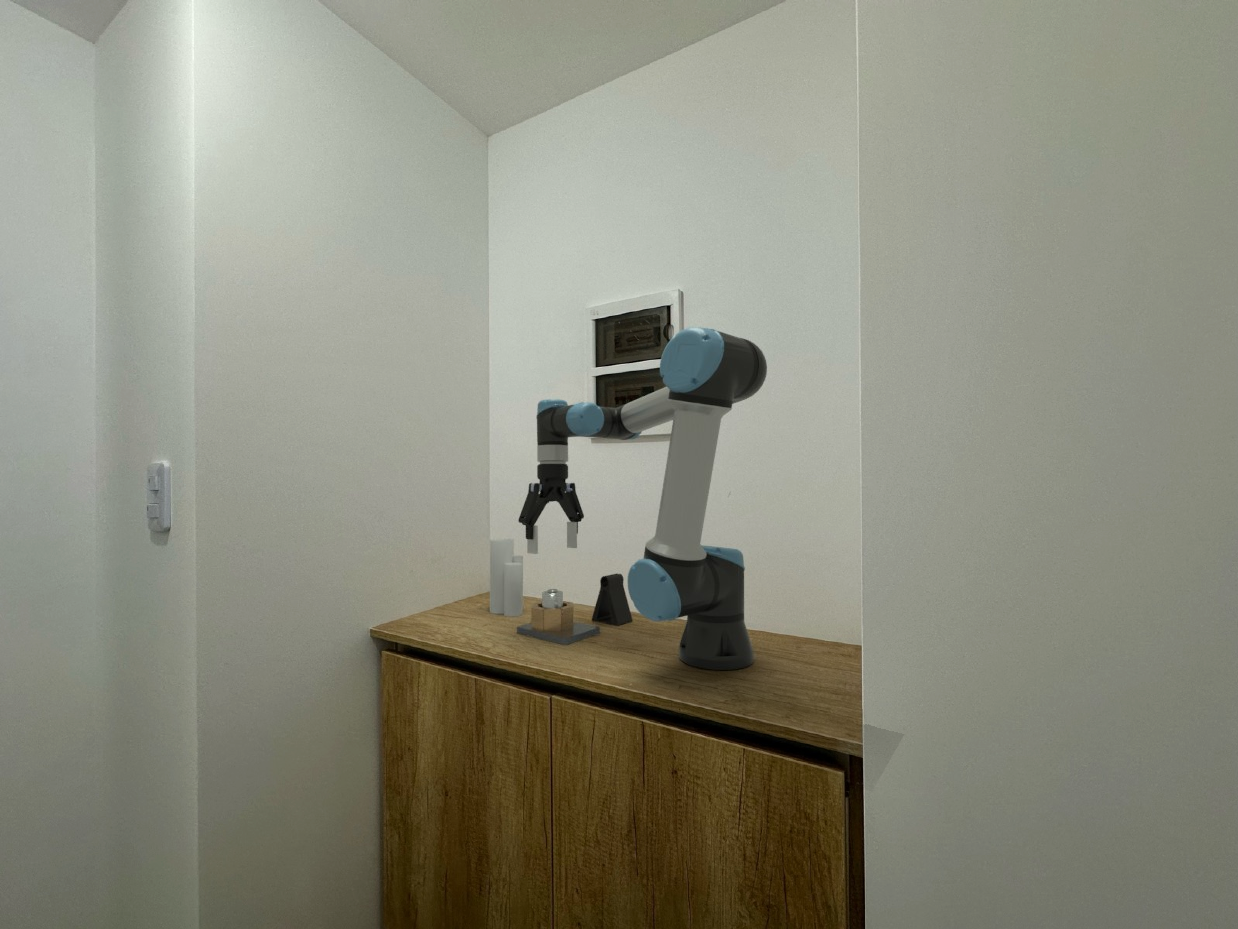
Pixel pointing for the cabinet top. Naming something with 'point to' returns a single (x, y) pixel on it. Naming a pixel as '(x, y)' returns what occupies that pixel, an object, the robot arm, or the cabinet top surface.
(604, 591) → the black triangular stand
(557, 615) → the ring
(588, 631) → the peg on base plate
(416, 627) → the cabinet top surface
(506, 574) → the candle
